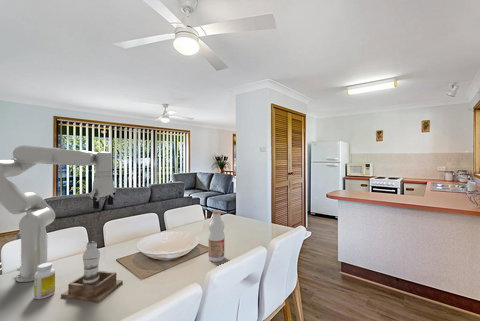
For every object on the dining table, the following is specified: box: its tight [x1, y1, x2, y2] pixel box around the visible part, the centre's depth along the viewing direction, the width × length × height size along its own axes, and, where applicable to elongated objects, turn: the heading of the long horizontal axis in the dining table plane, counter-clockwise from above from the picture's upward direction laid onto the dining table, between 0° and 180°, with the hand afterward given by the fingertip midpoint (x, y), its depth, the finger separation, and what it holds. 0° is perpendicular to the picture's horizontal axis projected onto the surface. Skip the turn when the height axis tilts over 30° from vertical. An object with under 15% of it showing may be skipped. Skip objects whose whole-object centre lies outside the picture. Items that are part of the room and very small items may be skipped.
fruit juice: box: [207, 209, 225, 263], centre depth 129 cm, size 9×9×28 cm
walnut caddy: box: [60, 270, 124, 303], centre depth 97 cm, size 18×14×5 cm
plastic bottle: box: [82, 240, 101, 286], centre depth 97 cm, size 6×7×20 cm
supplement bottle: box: [33, 262, 56, 300], centre depth 93 cm, size 7×7×13 cm
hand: (103, 206), depth 118 cm, fingers open, 9 cm apart
